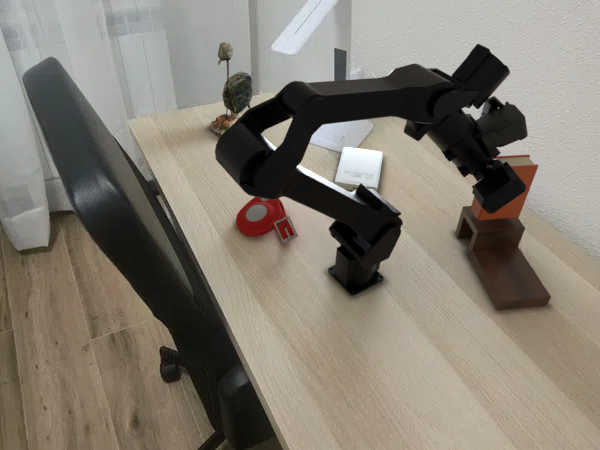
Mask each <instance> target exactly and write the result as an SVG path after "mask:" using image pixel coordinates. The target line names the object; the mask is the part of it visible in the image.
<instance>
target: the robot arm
mask: <svg viewBox="0 0 600 450" xmlns="http://www.w3.org/2000/svg"><path fill="white" fill-rule="evenodd" d="M510 73H511V71H510V68H509V67H508V65H507V64H504V63H503V61H502V60H501V59H500V58H499V57H497V56H496V55H495V54H494V53H492V52H491V50H490V48H488V47H486V46H484V45H482V44H481V43H477V44H476V45H475V46H474V47H473V48H472V50H471V51H470V52H469V54H468V55H467V57H466V58H465V59H464V60H463V61H462V62H461V63H460V65H459V66H457V68H456V69H455V70H454V72H452V74H448V73H447V72H444V71H443V70H441V69H439V68H437V67H433V68H432V67H428V68H427V67H425V66H424V65H422V64H420V63H410V64H407V65H403V66H399V67H395V68H394V69H392V70H391V71H390V72H389V73H388V74H387V75H385V76H381V77H372V78H371V77H370V78H358V79H344V80H343V79H341V80H327V81H313V82H312V81H311V82H306V81H303V80H293V81H290V82H289V83H287V84H286V85H285V86H284V87H282V88H281V89H280V90H279V91H278V93H276V94H275V95H274V96H272V98H269V99H267V100H265V101H262V102H260V103H258V104H256V105H254V106H252V107H251V108H250V109H249V108H248V109H247V110H246V111H245V112H244V113H243V114H242V115H241V116H240V117H239V118H238V120H237V121H236V122H235V123H234V124H233V125H232V126H231V127H230V128H229V129H228V130H226V131H225V132H224V133H223V134H222V135H221V136H219V138H218V139H217V142H216V144H215V149H214V156H215V158H214V159H215V160H216V162H217V163H218V164H219V165H220V166H221V167H222V169H224V171H225V172H226V174H228V175H229V176H230V178H232V180H233V181H234V182H235V183H236V184H237V185H238V186H239V188H240V189H241V190H242V191H243V192H244V194H247V195H248V196H251V197H253V198H254V197H259V198H264V199H269V200H275V199H278V198H279V199H280V198H283V197H284V198H287V199H289V200H291V201H294V202H296V203H298V204H300V205H302V206H305V207H306V208H309V209H311V210H313V211H316V212H318V213H320V214H322V215H324V216H327V217H328V218H331V219H333V220H334V221H333V222H332V223H331V225H330V226H329V227H328V231H329V234H330V237H331V238H332V239H334V240H335V241H336V242H338V244H340V245H339V246H337V247H336V250H335V251H336V254H335V263H334V265H331V266H330V267H328V268H327V272H328V274H329V275H330V276H331V277H332V278H333V280H335V281H336V282H337V283H338V284H339V286H340V287H342V288H343V289H344V291H346V293H348V294H349V295H350V296H352V297H354V296H357V295H358V294H361V293H362V292H364V291H366V290H368V289H370V288H372V287H375V286H376V285H378V284H380V283H382V282H383V281H384V279H385V277H384V276H383V275H382V274H381V273H380V272H379V270H380V265H381V263H382V262H384V261H386V260H388V259H390V257H391V255H392V253H393V251H394V248H395V247H396V245H397V242H398V241H399V238H400V237H401V234H402V229H401V228H402V226H403V224H404V221H403V219H402V218H401V217H400V216H401V215H402V212H401V211H399V210H398V209H397V208H396V207H395V206H394V205H392V204H391V203H390V202H389V201H388V200H387V199H385V198H384V197H383V196H382V195H381V194H380V193H379V192H378V191H377V192H376V191H375V190H373V189H368V188H366V187H365V186H364V185H363V184H362V183H360V185H359V187H358V188H357V190H355V191H350V190H345V189H343V188H341V187H339V186H337V185H336V184H334V182H332V181H330V180H328V179H327V178H325V177H323V176H321V175H319V174H318V173H315V172H314V171H311V170H310V169H308V168H306V167H304V166H303V165H301V163H302V161H303V159H304V157H305V155H306V152H307V150H308V147H309V145H310V142H311V140H312V137H313V135H314V134H315V133H316V132H317V131H318V130H319V129H320V128H321V127H322V126H323V125H331V124H341V123H348V122H357V121H365V120H374V119H381V118H397V119H403V120H405V124H404V128H403V134H405V135H406V136H408V137H410V138H412V139H413V140H414V141H417V142H420V141H421V140H422V139H423V138H424V137H425V136H427V137H428V138H429V139H430V140H431V141H432V142H433V143H434V144H435V145H436V147H437V148H438V149H439V150H440V151H441V153H442V154H443V156H444V157H445V159H446V160H447V161H448V162H449V163H450V162H452V164H453V165H454V166H455V168H456V169H457V170H458V173H460V175H461V176H462V177H463V178H466V177H467V176H469V175H470V176H473V178H474V179H475V181H476V182H475V184H473V185H472V186H471V189H472V191H471V193H472V195H473V197H474V196H475V198H476V199H477V201H478V202H479V204H480V205H481V207H482V208H483V209H484V210H485V211H486V212H487V213H488V214H493V213H495V212H496V211H498V210H499V209H501V208H502V207H503V206H505V205H506V204H508V203H509V202H511V201H512V200H513V199H515V198H516V197H518V196H519V195H521V194H522V193H523V192H525V190H526V187H527V186H526V185H525V184H524V182H523V181H522V180H521V178H520V177H519V176H518V175H517V173H516V172H515V171H514V170H513V168H512V167H511V166H510V165H509V164H508V162H507V161H506V162H505V163H502V162H501V161H500V160H499V159H495V160H493V159H492V158H495V157H497V156H500V155H501V154H502V152H501V151H500V150H499V149H498V148H503V147H506V146H508V145H510V144H513V143H515V142H518V141H523V140H525V139H527V137H528V135H529V134H528V127H527V121H526V116H525V115H524V113H523V112H522V111H521V110H520V109H519V108H518V107H517V106H516V105H515V104H512V103H510V102H509V101H505V102H504V103H503V102H501V101H500V100H499V99H498V97H497V96H496V95H493V94H494V93H495V92H496V91H497V89H498V88H499V87H500V86H501V85H502V83H504V82H505V80H506V79H507V78H508V77H509V75H510ZM492 95H493V96H492ZM472 106H473V107H474V109H476V110H480V109H481V107H482V106H483V107H482V109H481V112H480V116H479V118H477V119H475V118H474V117H473V115H472V114H471V113H466V112H465V111H464V110H463V109H465V108H467V109H471V107H472ZM290 119H291V122H290V125H289V126H288V129H287V131H286V133H285V136H284V139H283V141H282V142H281V144H280V145H278V147H276V146H275V145H274V144H273V143H272V142H270V141H269V140H268V139H267V138H266V137H265V136H264V135H263V133H264V132H266V130H268V129H270V128H272V127H275V126H277V125H279V124H281V123H283V122H286V121H289V120H290ZM487 164H488V166H489V167H487V166H486V165H487ZM491 166H492V167H491Z"/></svg>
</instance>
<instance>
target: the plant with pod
mask: <svg viewBox="0 0 600 450" xmlns="http://www.w3.org/2000/svg"><path fill="white" fill-rule="evenodd" d="M233 52H234V48H233V45H232V44H231V43H228V42H226V41H223V42H221V43H219V48H218V52H217V57H218V58H219V60H218V63H217V65H218V66H220V65H221V63H222V62H224V61H226V81H225V82H224V84H223V85H224V86H223V90H222V95H221V96H222V101H223V106H224V107H225V108H226V112H225V113H223V114H221V115H217V116H216V118H215V119H214V120H213V121H212V120H211V123H209V124H208V126H206V128H207V129H210V130H211V129H212V130H211V131H212V132H213V133H215V134H217V136H218V137H220V136H221V135H222V134H223V133H224V132H225V131H226V130H228V129H229V128H230V127H231V126H232V125H233V124H234V123H235V122H236V121H237V120H238V119H239V118H238V116H239V114H240V113H242V112H243V111H244V110H245V109H246V108H248V109H250V108H252V107H251V101H252V98H253V93H254V92H253V91H254V89H253V78H252V75H250V74H249V73H248V72H244V71H239V72H236V73H235V74H232V75H231V76H230V62H229V61H231V59H232V57H233ZM228 111H230V114H228Z"/></svg>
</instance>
